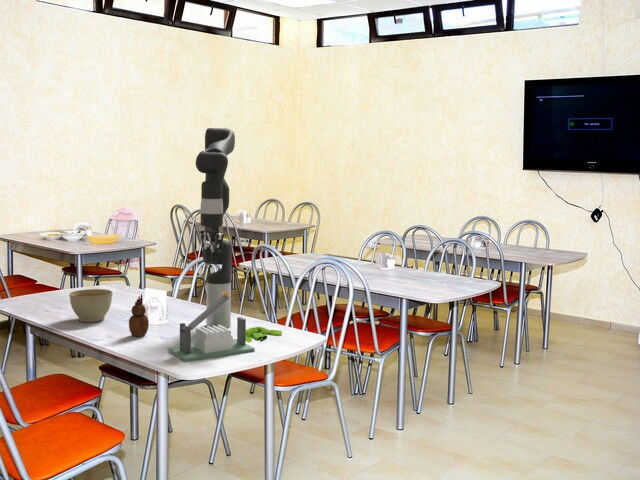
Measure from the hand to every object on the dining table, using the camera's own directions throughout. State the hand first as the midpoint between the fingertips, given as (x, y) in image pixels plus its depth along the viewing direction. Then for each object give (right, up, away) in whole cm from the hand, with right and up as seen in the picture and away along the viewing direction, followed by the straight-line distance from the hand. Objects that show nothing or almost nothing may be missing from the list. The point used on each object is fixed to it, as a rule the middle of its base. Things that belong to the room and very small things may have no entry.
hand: (211, 261), depth 240 cm
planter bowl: (-53, -24, +37) cm, 69 cm away
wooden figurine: (-29, -27, +15) cm, 42 cm away
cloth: (+16, -29, +19) cm, 38 cm away
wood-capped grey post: (-1, -17, -5) cm, 18 cm away
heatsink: (0, -30, -3) cm, 30 cm away
